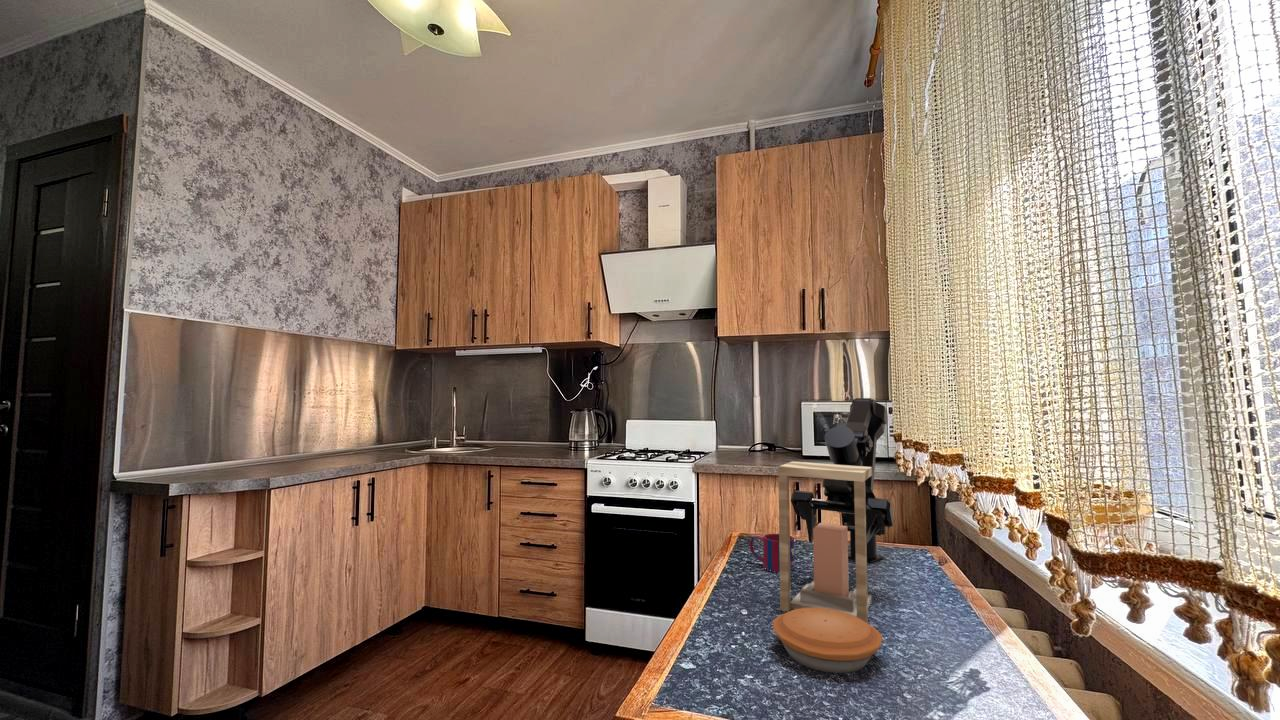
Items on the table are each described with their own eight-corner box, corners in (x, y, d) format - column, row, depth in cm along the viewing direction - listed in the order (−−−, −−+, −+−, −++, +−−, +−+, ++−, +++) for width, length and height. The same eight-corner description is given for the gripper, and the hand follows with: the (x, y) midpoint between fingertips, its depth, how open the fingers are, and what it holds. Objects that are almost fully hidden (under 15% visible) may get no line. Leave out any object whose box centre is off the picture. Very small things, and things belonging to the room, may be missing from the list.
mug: (786, 575, 117) (786, 543, 117) (744, 566, 123) (744, 535, 123) (799, 567, 122) (799, 536, 122) (758, 559, 128) (758, 529, 129)
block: (821, 592, 104) (820, 522, 105) (848, 597, 101) (847, 526, 102) (814, 600, 100) (813, 528, 101) (842, 606, 97) (841, 531, 98)
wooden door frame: (801, 587, 109) (799, 458, 111) (879, 601, 102) (876, 463, 103) (780, 610, 98) (778, 466, 99) (866, 628, 90) (863, 472, 92)
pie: (786, 625, 92) (785, 594, 92) (886, 645, 85) (886, 612, 85) (760, 664, 78) (760, 629, 79) (877, 693, 71) (876, 653, 71)
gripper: (792, 451, 114) (777, 515, 104) (889, 457, 105) (882, 528, 95) (803, 483, 121) (789, 547, 111) (895, 491, 111) (890, 562, 101)
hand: (834, 545), depth 104 cm, fingers open, 9 cm apart
